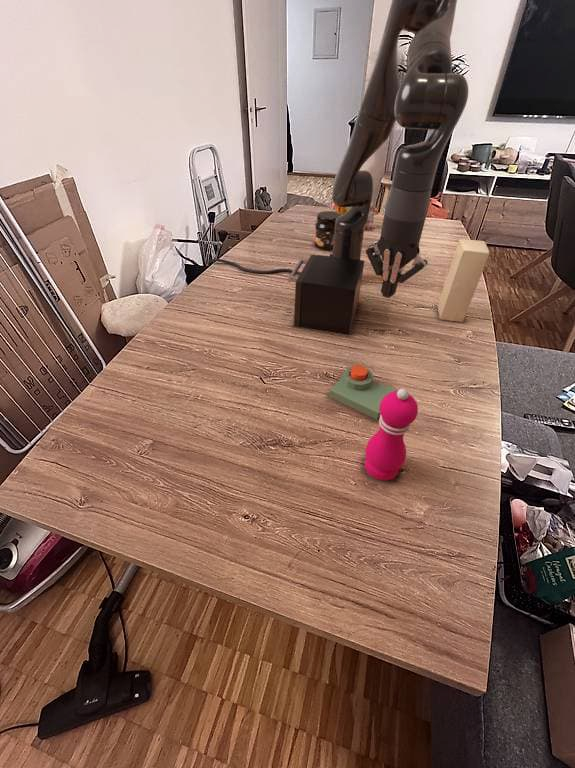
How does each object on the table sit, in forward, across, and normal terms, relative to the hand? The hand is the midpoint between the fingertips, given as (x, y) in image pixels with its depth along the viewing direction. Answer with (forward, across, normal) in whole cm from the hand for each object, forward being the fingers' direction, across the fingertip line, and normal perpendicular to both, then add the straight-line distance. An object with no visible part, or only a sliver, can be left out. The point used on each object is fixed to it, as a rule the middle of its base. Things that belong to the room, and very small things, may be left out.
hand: (387, 295), depth 81 cm
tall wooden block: (+20, -8, -36) cm, 42 cm away
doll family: (+22, +52, -80) cm, 98 cm away
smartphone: (+21, +30, -65) cm, 75 cm away
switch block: (+19, -4, +12) cm, 23 cm away
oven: (+20, +21, -13) cm, 32 cm away
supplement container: (+21, +50, -57) cm, 78 cm away
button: (+16, -1, +10) cm, 19 cm away
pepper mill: (+19, -16, +27) cm, 37 cm away
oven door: (+20, +30, -10) cm, 37 cm away
